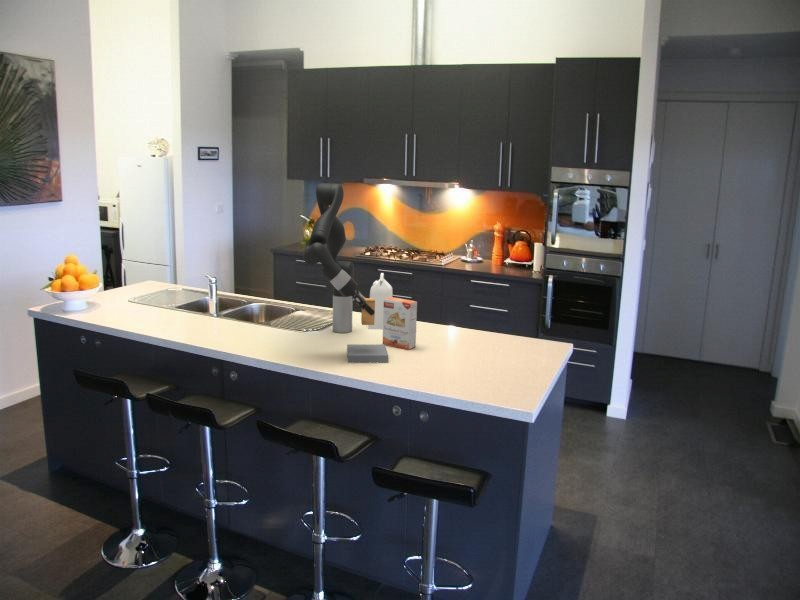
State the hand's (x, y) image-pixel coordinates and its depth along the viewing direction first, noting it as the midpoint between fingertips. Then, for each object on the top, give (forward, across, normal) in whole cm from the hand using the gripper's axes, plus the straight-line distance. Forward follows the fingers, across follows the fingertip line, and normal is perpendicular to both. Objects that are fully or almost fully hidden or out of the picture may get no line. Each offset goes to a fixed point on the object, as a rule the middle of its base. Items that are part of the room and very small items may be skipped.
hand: (372, 312), depth 274 cm
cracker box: (+23, +16, +4) cm, 28 cm away
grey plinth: (+12, 0, +15) cm, 19 cm away
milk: (+19, +51, +8) cm, 55 cm away
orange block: (+2, 0, +5) cm, 5 cm away
